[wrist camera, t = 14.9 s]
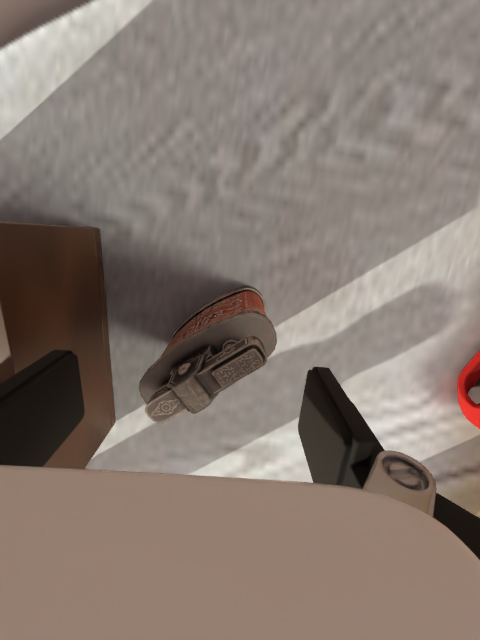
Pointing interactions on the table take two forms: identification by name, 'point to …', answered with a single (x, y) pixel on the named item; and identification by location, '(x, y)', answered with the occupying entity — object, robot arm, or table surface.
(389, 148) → the table surface
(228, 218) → the table surface
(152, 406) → the lighter
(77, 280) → the box
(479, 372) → the tracker holder
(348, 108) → the table surface
